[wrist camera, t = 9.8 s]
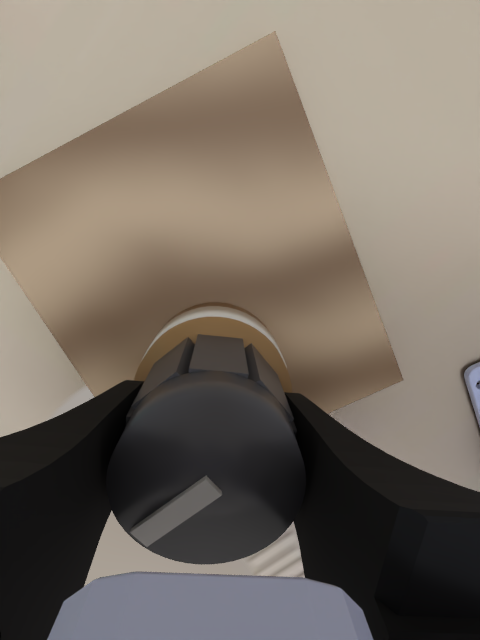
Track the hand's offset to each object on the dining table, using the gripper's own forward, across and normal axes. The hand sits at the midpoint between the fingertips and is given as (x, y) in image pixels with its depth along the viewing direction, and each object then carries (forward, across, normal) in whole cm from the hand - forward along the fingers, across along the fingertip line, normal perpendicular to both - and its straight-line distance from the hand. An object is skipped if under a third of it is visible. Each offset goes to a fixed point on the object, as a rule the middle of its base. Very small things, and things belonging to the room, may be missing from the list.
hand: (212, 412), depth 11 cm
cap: (+1, 0, 0) cm, 1 cm away
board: (+5, +1, -3) cm, 6 cm away
